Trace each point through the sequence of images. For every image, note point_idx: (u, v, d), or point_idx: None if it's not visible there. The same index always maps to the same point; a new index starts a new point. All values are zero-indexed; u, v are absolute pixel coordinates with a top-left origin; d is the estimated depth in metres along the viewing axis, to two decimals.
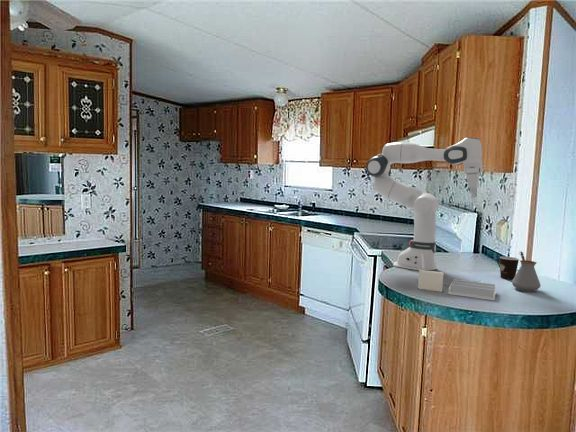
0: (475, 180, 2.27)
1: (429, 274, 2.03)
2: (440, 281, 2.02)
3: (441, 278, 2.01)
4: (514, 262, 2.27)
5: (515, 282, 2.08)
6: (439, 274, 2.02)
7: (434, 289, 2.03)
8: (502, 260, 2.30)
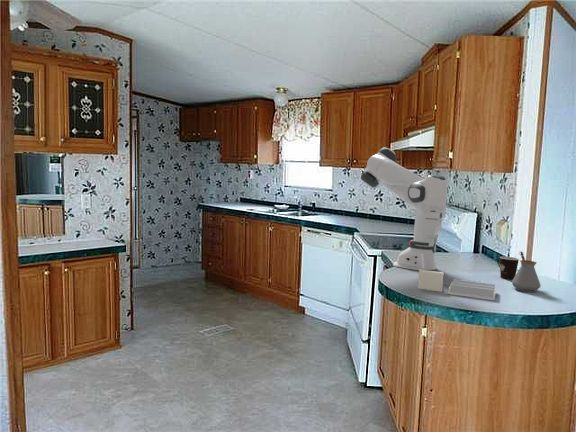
0: (434, 227, 1.93)
1: (429, 274, 2.03)
2: (440, 281, 2.02)
3: (441, 278, 2.01)
4: (514, 262, 2.27)
5: (515, 282, 2.08)
6: (439, 274, 2.02)
7: (434, 289, 2.03)
8: (502, 260, 2.30)
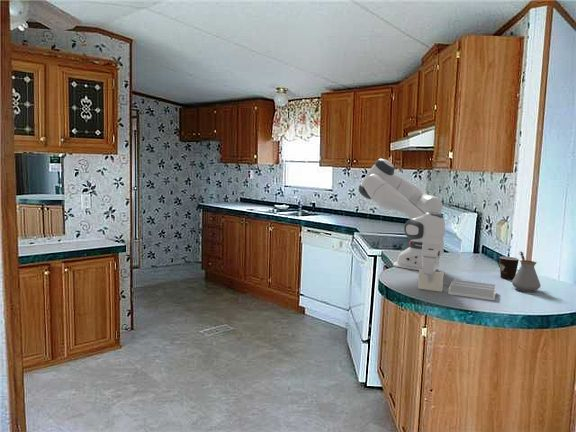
0: (432, 266, 1.94)
1: None
2: (440, 281, 2.02)
3: (441, 278, 2.01)
4: (514, 262, 2.27)
5: (515, 282, 2.08)
6: (439, 274, 2.02)
7: (434, 289, 2.03)
8: (502, 260, 2.30)
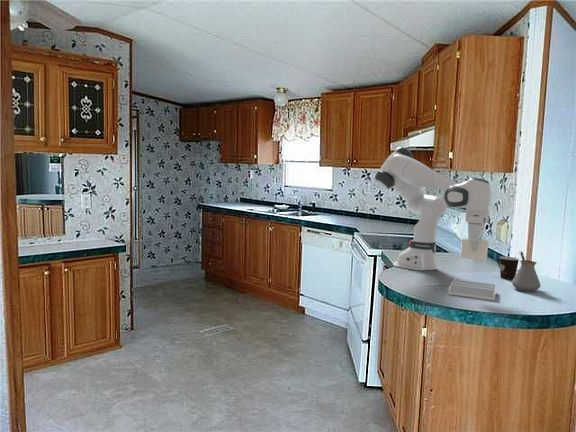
0: (478, 233, 1.86)
1: None
2: (485, 249, 1.93)
3: (486, 246, 1.93)
4: (514, 262, 2.27)
5: (515, 282, 2.08)
6: (484, 242, 1.93)
7: (478, 258, 1.94)
8: (502, 260, 2.30)
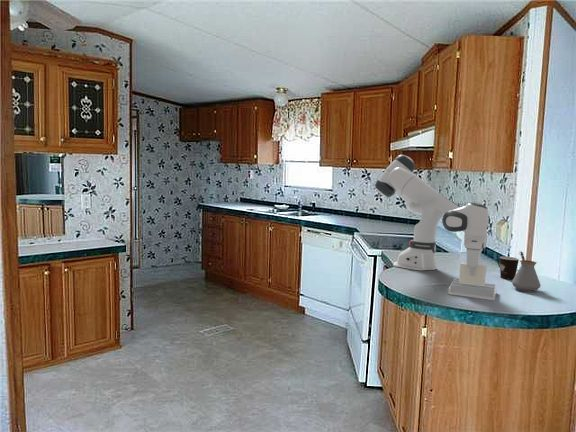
0: (476, 258, 1.87)
1: None
2: (483, 274, 1.94)
3: (484, 271, 1.94)
4: (514, 262, 2.27)
5: (515, 282, 2.08)
6: (482, 267, 1.94)
7: (476, 283, 1.95)
8: (502, 260, 2.30)
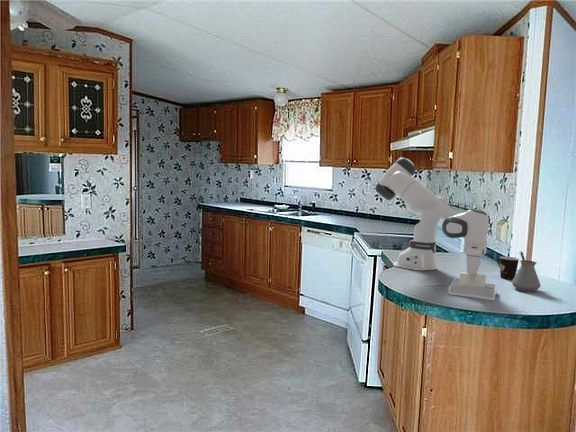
0: (476, 265, 1.87)
1: None
2: (483, 284, 1.94)
3: (484, 281, 1.94)
4: (514, 262, 2.27)
5: (515, 282, 2.08)
6: (482, 277, 1.94)
7: None
8: (502, 260, 2.30)
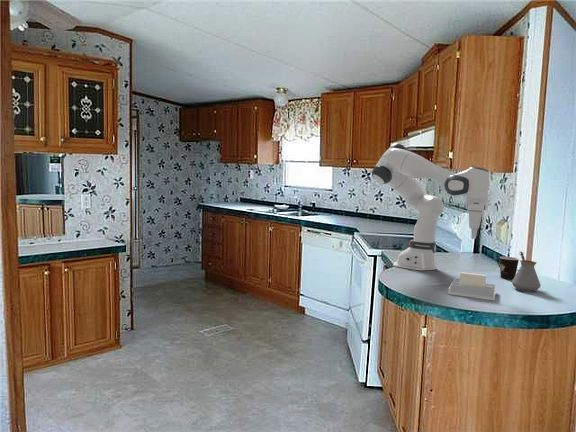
0: (478, 219, 1.92)
1: (471, 276, 1.96)
2: (483, 284, 1.94)
3: (484, 281, 1.94)
4: (514, 262, 2.27)
5: (515, 282, 2.08)
6: (482, 277, 1.94)
7: None
8: (502, 260, 2.30)
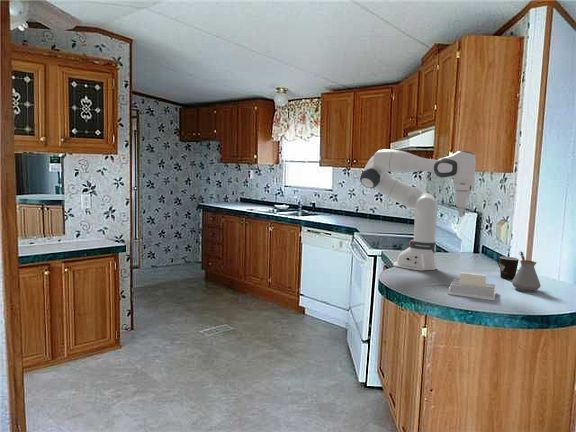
0: (464, 199, 2.07)
1: (471, 276, 1.96)
2: (483, 284, 1.94)
3: (484, 281, 1.94)
4: (514, 262, 2.27)
5: (515, 282, 2.08)
6: (482, 277, 1.94)
7: None
8: (502, 260, 2.30)
